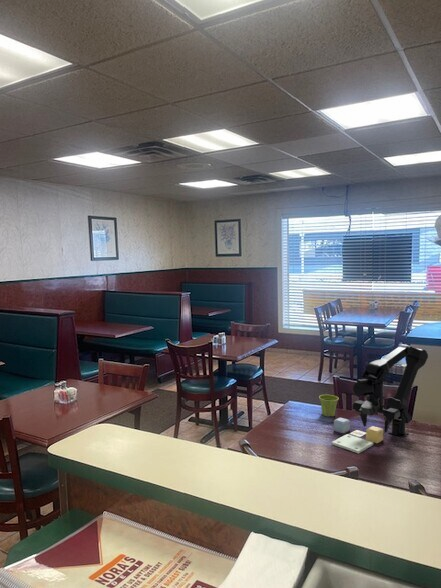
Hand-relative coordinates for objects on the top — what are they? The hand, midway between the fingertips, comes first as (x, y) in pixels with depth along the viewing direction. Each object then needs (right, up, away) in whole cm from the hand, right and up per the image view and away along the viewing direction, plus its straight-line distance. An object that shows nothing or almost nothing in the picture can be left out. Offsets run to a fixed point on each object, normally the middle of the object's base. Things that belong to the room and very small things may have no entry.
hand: (375, 429), depth 184 cm
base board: (-11, -5, -4) cm, 13 cm away
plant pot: (-12, -3, +30) cm, 33 cm away
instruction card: (-5, -4, +7) cm, 9 cm away
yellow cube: (0, -5, 0) cm, 5 cm away
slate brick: (-11, -4, +10) cm, 16 cm away
